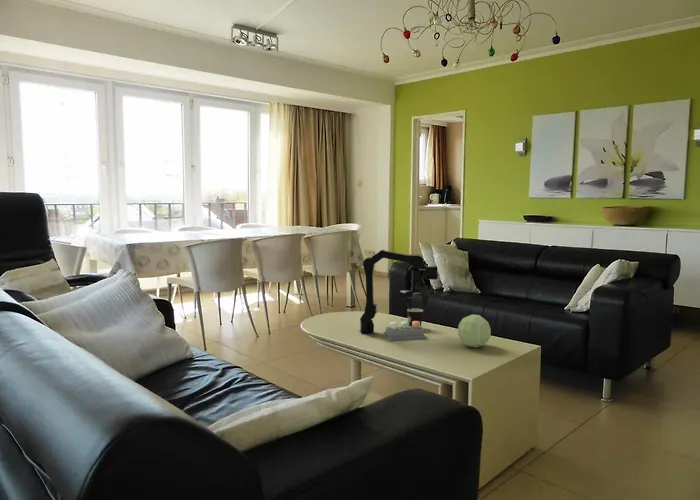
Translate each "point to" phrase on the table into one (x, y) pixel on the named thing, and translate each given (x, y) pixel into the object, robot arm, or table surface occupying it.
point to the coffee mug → (414, 315)
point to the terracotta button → (416, 324)
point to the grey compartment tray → (405, 334)
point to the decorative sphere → (474, 331)
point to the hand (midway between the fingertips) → (416, 308)
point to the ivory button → (393, 325)
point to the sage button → (404, 325)
